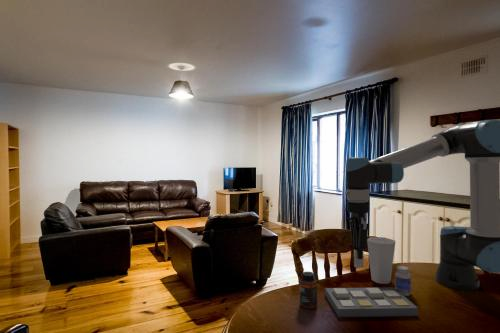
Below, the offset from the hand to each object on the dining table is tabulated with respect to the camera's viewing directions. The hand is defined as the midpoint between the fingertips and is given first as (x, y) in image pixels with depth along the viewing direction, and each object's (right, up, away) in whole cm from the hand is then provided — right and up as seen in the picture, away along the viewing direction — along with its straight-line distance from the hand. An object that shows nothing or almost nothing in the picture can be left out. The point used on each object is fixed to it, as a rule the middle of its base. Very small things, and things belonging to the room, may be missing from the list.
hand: (358, 266), depth 109 cm
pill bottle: (+19, -13, +8) cm, 24 cm away
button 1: (+12, -12, +1) cm, 17 cm away
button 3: (0, -12, 0) cm, 12 cm away
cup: (+16, -12, +20) cm, 28 cm away
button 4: (-6, -11, 0) cm, 13 cm away
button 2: (+6, -11, 0) cm, 12 cm away
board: (+3, -13, -2) cm, 13 cm away
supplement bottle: (-18, -13, -2) cm, 23 cm away
